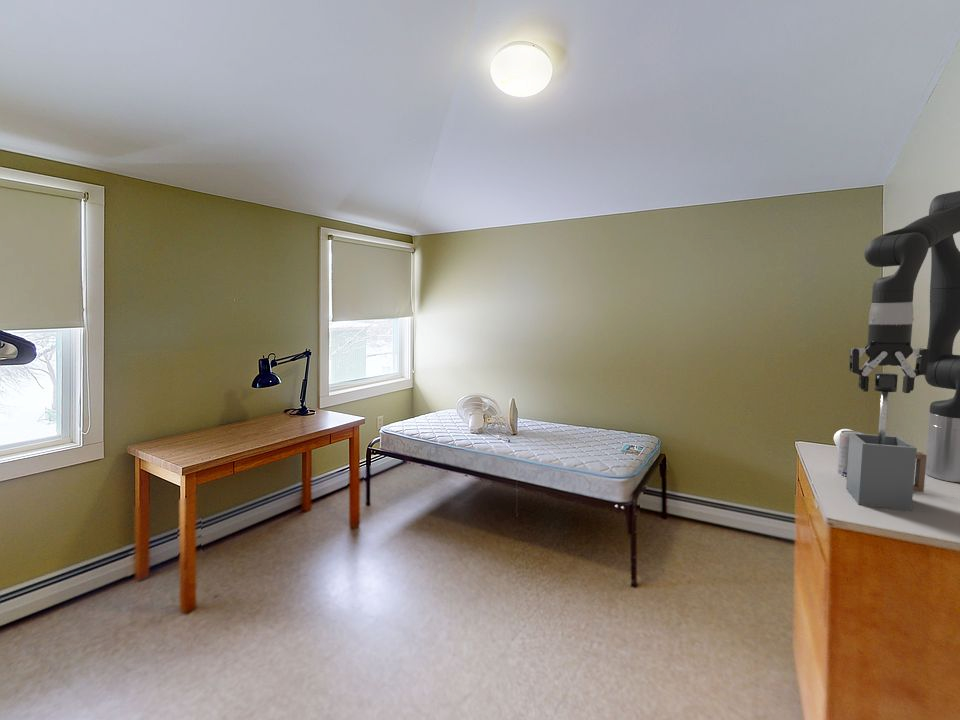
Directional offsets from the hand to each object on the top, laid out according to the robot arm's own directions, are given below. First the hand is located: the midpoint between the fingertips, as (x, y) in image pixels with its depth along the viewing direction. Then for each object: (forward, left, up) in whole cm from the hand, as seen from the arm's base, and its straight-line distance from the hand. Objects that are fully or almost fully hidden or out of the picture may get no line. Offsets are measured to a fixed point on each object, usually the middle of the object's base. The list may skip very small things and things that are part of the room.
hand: (884, 391), depth 105 cm
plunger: (0, 0, -17) cm, 17 cm away
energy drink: (+1, -17, -27) cm, 32 cm away
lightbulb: (0, -25, -27) cm, 37 cm away
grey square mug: (-2, 0, -27) cm, 27 cm away
